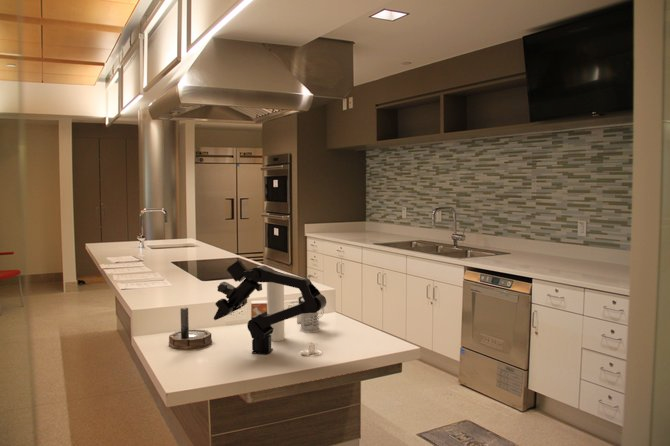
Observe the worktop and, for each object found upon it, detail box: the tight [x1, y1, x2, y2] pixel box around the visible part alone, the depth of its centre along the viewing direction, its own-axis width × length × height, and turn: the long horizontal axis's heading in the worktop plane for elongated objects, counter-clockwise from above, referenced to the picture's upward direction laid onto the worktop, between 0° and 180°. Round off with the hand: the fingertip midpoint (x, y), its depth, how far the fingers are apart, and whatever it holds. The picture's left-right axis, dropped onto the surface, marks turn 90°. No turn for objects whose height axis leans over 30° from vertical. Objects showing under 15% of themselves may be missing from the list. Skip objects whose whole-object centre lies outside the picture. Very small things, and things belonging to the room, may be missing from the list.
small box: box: [250, 299, 267, 320], centre depth 239 cm, size 8×6×13 cm
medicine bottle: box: [296, 295, 313, 324], centre depth 255 cm, size 7×7×12 cm
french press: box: [298, 274, 325, 334], centre depth 240 cm, size 10×12×25 cm
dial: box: [174, 307, 206, 339], centre depth 219 cm, size 13×13×14 cm
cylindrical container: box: [266, 282, 285, 342], centre depth 225 cm, size 7×7×25 cm
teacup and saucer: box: [299, 341, 323, 357], centre depth 206 cm, size 9×8×4 cm
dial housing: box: [168, 328, 213, 350], centre depth 219 cm, size 17×17×4 cm
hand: (218, 317), depth 211 cm, fingers open, 7 cm apart
